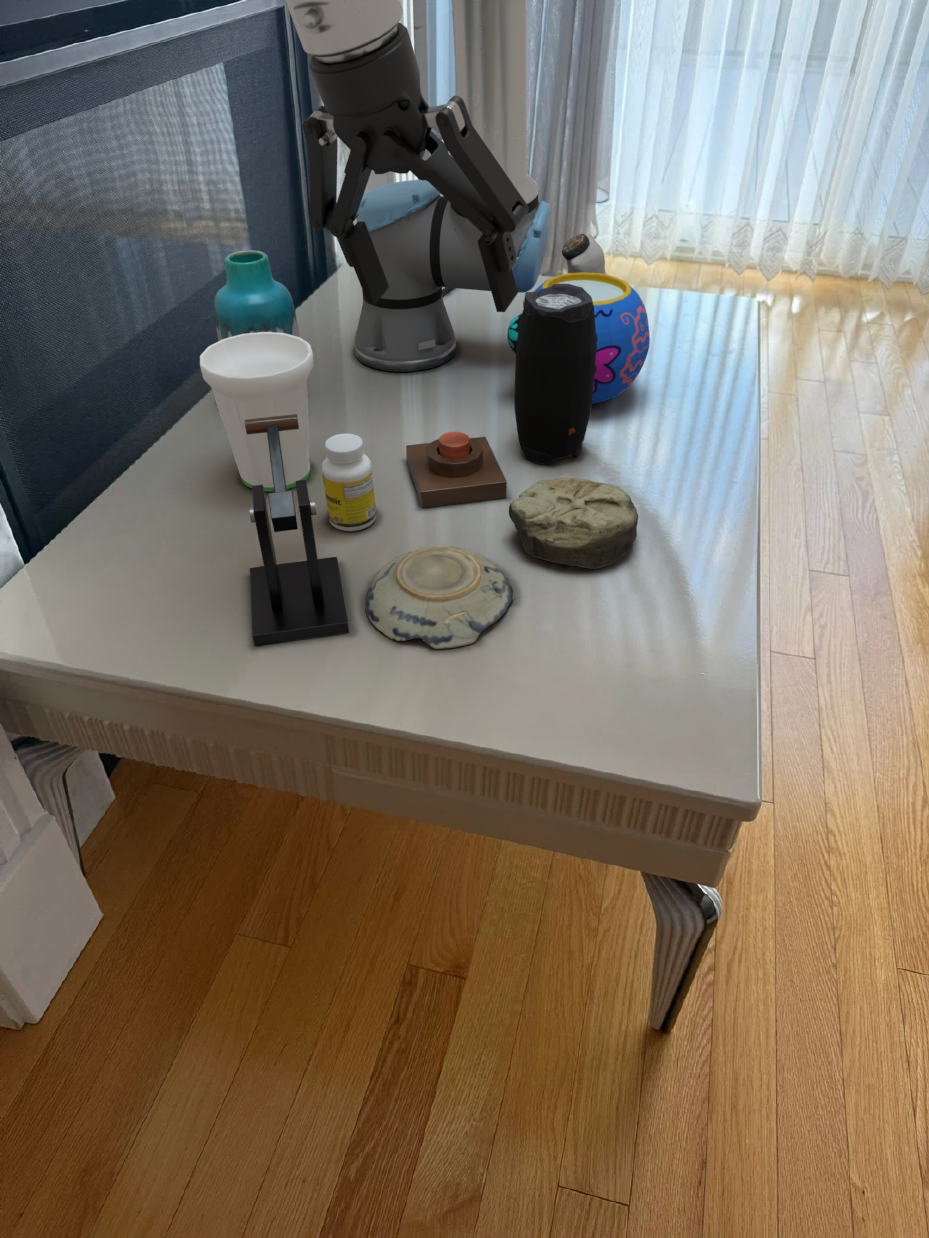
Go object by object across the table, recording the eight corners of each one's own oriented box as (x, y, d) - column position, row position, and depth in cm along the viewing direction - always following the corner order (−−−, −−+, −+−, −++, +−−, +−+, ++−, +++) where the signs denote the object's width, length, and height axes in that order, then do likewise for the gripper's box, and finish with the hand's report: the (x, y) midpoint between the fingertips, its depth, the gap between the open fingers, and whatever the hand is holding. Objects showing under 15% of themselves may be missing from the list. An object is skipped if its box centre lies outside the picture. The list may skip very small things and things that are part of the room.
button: (436, 446, 107) (436, 433, 106) (466, 443, 107) (466, 430, 106) (442, 461, 104) (441, 448, 103) (472, 458, 105) (472, 444, 103)
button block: (406, 461, 111) (405, 432, 109) (485, 452, 113) (485, 423, 110) (421, 508, 103) (420, 478, 101) (506, 498, 105) (507, 468, 102)
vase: (255, 423, 119) (230, 277, 107) (216, 396, 126) (187, 256, 113) (322, 398, 125) (304, 257, 112) (280, 374, 131) (260, 237, 119)
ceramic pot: (541, 360, 134) (545, 256, 124) (657, 381, 128) (672, 274, 118) (493, 409, 122) (494, 299, 112) (620, 435, 116) (632, 321, 106)
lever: (246, 428, 88) (243, 413, 86) (298, 423, 89) (296, 407, 87) (258, 534, 83) (255, 520, 81) (313, 527, 84) (311, 514, 82)
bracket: (251, 577, 93) (229, 470, 85) (338, 566, 95) (324, 459, 87) (254, 646, 85) (230, 534, 77) (349, 632, 87) (335, 521, 78)
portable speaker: (593, 465, 110) (607, 308, 97) (517, 469, 110) (521, 311, 97) (580, 432, 117) (592, 280, 104) (509, 435, 116) (512, 283, 103)
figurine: (576, 320, 145) (583, 223, 136) (632, 334, 141) (643, 234, 131) (548, 338, 140) (553, 238, 130) (605, 353, 135) (614, 250, 126)
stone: (611, 588, 91) (616, 545, 88) (494, 552, 96) (494, 510, 93) (653, 524, 100) (659, 483, 97) (543, 494, 105) (546, 454, 102)
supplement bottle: (322, 512, 103) (312, 435, 96) (367, 502, 104) (360, 425, 98) (336, 537, 99) (326, 459, 93) (383, 526, 100) (376, 448, 94)
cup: (267, 513, 103) (244, 389, 93) (203, 476, 109) (176, 355, 99) (348, 471, 110) (335, 351, 100) (284, 438, 116) (266, 322, 106)
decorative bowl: (383, 664, 83) (535, 631, 86) (379, 633, 81) (537, 601, 84) (352, 572, 94) (488, 545, 97) (348, 543, 92) (488, 517, 95)
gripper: (199, 78, 68) (310, 317, 84) (483, 49, 56) (549, 334, 72) (254, 31, 72) (350, 270, 88) (532, -5, 60) (585, 278, 76)
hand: (440, 299), depth 80 cm, fingers open, 13 cm apart
